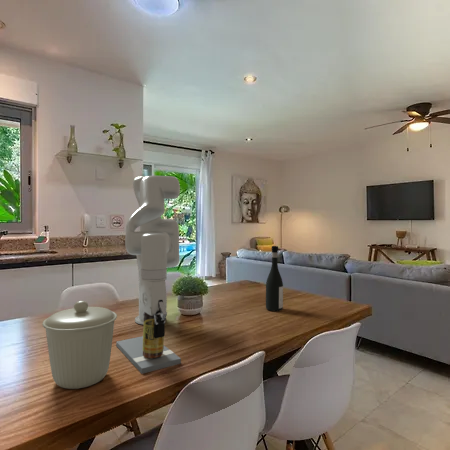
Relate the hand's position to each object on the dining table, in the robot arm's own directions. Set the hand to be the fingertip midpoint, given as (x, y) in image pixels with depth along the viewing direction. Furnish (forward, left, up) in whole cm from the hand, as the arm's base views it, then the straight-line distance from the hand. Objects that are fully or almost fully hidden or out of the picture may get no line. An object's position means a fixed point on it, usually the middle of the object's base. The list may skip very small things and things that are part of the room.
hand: (153, 332), depth 101 cm
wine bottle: (-22, +69, -9) cm, 73 cm away
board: (-6, 0, -9) cm, 10 cm away
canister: (0, -21, -9) cm, 22 cm away
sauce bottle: (0, 0, -7) cm, 7 cm away
